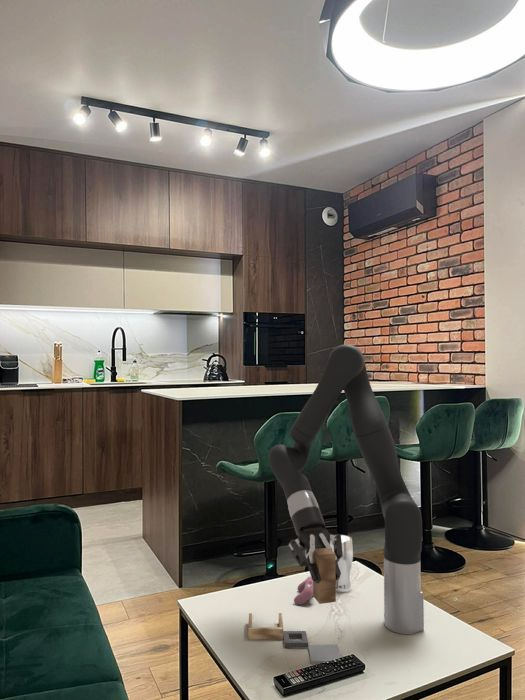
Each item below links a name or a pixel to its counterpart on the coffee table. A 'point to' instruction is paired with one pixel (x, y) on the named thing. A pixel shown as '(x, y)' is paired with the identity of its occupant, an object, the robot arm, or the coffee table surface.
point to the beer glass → (345, 564)
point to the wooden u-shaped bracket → (265, 630)
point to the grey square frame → (295, 643)
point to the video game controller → (304, 591)
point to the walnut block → (325, 576)
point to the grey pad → (323, 653)
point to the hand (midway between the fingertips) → (328, 580)
